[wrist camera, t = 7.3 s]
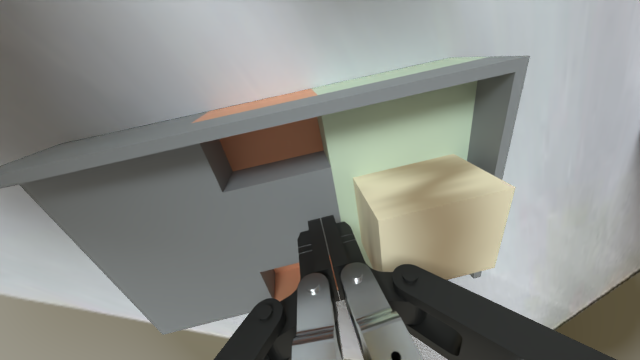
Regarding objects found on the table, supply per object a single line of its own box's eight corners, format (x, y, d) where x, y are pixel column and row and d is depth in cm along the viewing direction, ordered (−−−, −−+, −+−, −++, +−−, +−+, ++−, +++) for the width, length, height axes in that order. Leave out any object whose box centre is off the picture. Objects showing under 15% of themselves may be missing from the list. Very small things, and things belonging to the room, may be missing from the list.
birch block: (453, 153, 13) (515, 187, 10) (446, 220, 16) (494, 267, 12) (352, 177, 13) (378, 220, 9) (361, 242, 15) (384, 295, 12)
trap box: (450, 57, 14) (529, 55, 9) (436, 233, 20) (479, 281, 16) (59, 144, 13) (-58, 187, 8) (179, 297, 19) (148, 366, 15)
